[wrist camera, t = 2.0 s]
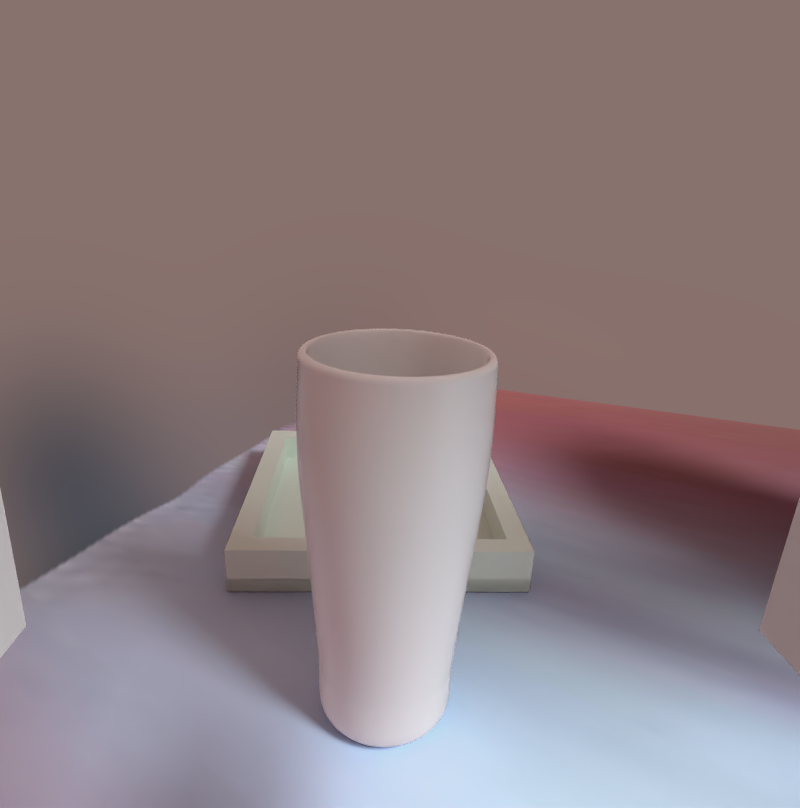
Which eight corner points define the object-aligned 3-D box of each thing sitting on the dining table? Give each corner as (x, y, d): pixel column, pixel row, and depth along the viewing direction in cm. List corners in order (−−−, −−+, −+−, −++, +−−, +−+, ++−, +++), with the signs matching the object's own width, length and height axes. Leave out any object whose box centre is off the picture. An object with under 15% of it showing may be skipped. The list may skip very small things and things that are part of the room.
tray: (477, 463, 47) (479, 434, 46) (529, 591, 32) (534, 552, 31) (273, 460, 46) (272, 430, 45) (227, 591, 31) (224, 550, 30)
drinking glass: (291, 774, 21) (279, 376, 16) (310, 640, 27) (306, 324, 22) (477, 773, 21) (523, 382, 16) (454, 640, 28) (481, 329, 23)
